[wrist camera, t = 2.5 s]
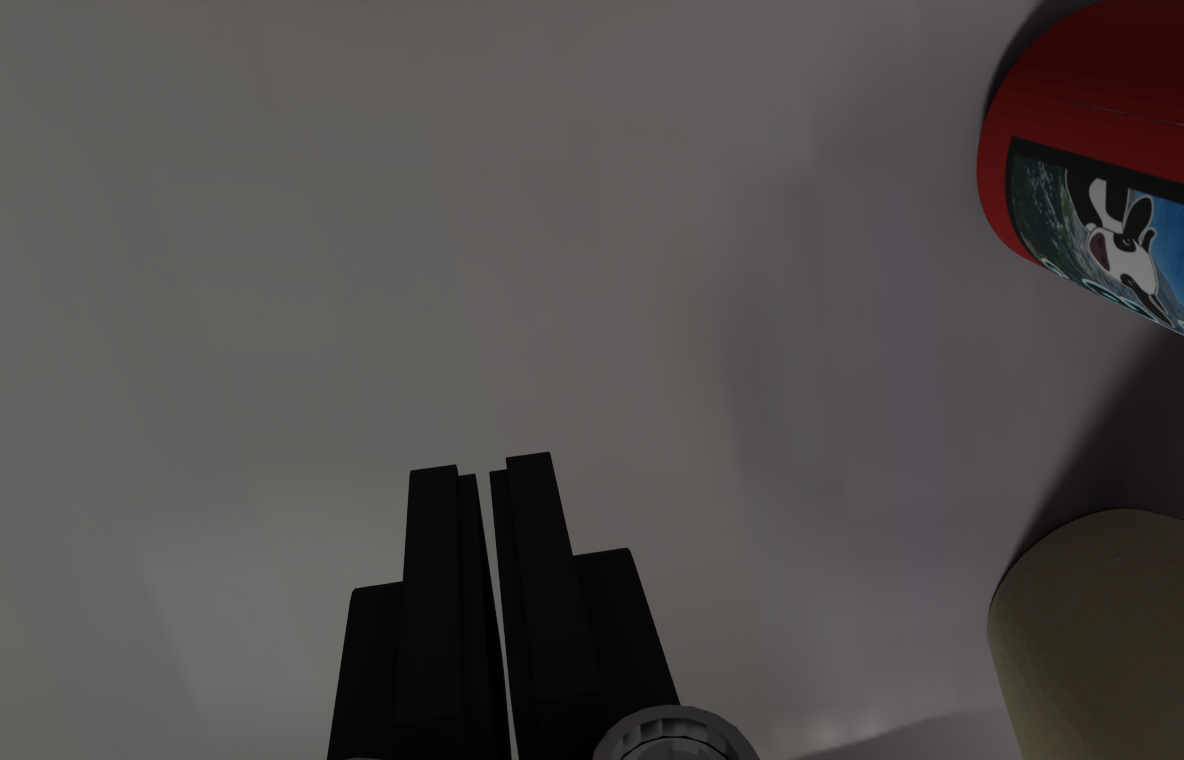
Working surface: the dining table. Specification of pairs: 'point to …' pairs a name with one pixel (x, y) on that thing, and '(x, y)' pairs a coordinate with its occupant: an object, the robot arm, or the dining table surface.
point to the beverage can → (1096, 155)
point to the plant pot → (1095, 640)
